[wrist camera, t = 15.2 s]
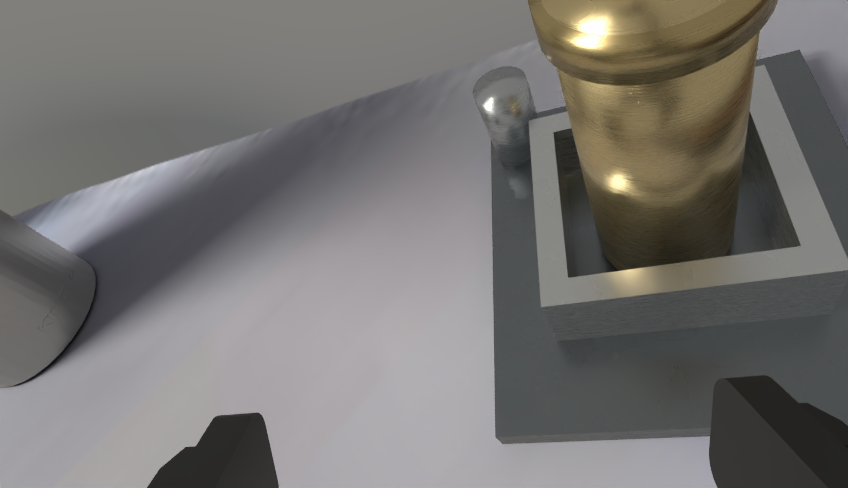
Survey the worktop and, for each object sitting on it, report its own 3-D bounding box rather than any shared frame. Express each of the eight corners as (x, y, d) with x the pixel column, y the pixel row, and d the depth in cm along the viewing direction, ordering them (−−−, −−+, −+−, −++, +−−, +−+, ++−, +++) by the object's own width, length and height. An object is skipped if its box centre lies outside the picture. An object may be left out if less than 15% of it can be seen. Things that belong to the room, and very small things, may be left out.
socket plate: (502, 443, 21) (461, 403, 17) (495, 137, 30) (467, 65, 26) (966, 426, 16) (1052, 365, 12) (796, 67, 25) (815, -34, 21)
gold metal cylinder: (596, 297, 22) (528, 64, 12) (585, 184, 25) (523, -74, 15) (759, 282, 20) (825, -10, 10) (726, 160, 23) (754, -153, 13)
